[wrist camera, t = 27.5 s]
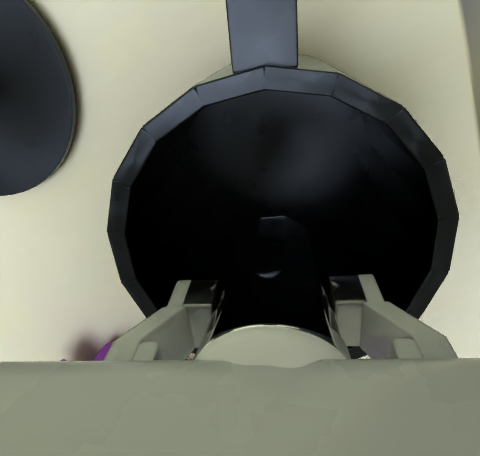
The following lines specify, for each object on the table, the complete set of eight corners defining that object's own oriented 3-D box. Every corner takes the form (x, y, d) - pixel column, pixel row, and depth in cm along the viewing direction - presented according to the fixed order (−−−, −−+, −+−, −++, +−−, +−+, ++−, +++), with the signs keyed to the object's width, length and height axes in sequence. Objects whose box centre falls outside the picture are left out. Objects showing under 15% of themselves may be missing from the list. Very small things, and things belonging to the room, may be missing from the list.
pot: (392, -10, 22) (509, -55, 11) (371, 276, 31) (424, 411, 20) (150, 18, 24) (41, 2, 13) (196, 281, 33) (155, 408, 22)
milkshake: (240, 171, 16) (181, 350, 7) (349, 231, 16) (429, 466, 7) (193, 253, 18) (101, 475, 9) (293, 304, 18) (302, 557, 9)
